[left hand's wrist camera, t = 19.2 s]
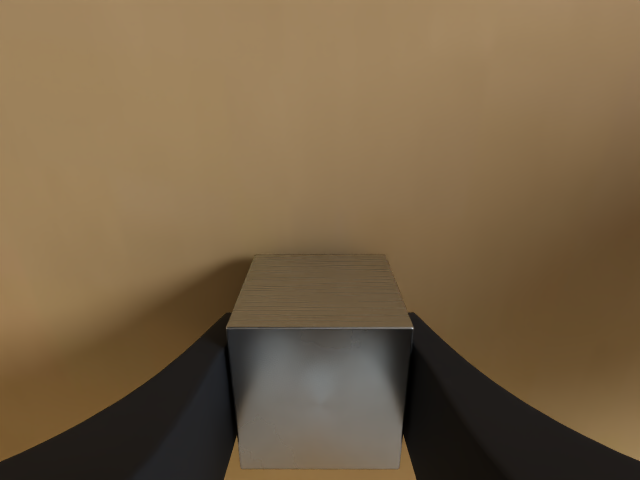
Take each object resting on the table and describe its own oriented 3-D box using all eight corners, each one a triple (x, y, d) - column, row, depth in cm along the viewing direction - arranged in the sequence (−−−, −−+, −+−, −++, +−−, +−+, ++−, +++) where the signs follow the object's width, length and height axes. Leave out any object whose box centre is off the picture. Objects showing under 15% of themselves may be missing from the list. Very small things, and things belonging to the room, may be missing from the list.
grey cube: (254, 253, 12) (225, 327, 8) (385, 253, 12) (414, 327, 8) (262, 366, 14) (240, 470, 10) (378, 366, 14) (399, 470, 10)
